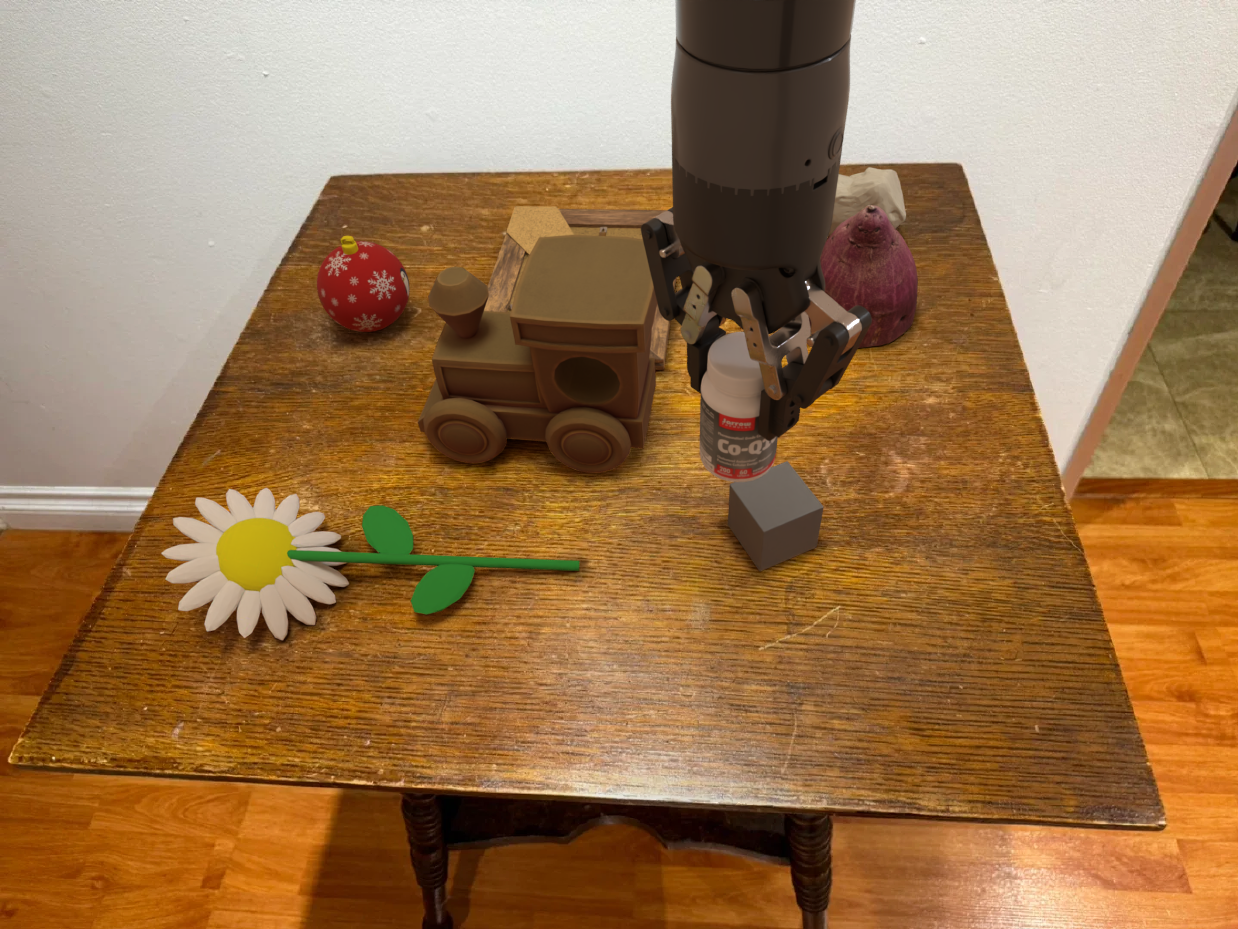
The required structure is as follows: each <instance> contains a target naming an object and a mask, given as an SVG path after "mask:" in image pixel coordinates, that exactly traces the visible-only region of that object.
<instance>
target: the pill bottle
mask: <svg viewBox="0 0 1238 929" xmlns="http://www.w3.org/2000/svg"><path fill="white" fill-rule="evenodd" d="M763 389H765V388H764V384H763V380H762V375H761V371H760V366H759V363H758V362H757V361H753V360H751V358H750V356H749V352H748V348H747V343H746V339H745V335H744V331H734V332H730V333H726V335H724V336H722V337H720V338H719V339H717V340H716V341H715V342H714V343H713V344H712V345H711V347H710V349H709V352H708V362H707V371H706V372H705V374H704V376H703V378H702V382H701V394H700V401H699V402H700V404H699V457H700V461H701V462H702V465H703V466H704V468H705V469H706V471H708V473H710V474H711V475H712V476H714V477H716V478H717V479H720V480H722V481H726V482H731V483H734V482H747V481H752V480H755V479H758V478H760V477H761V476H763V475H764V474H766V473H767V472H768V471H769V470H770V468H771V467H773V466H774V463H775V461H776V456H777V449H778V440H779V438H778V437H777V436H776V437H775V438H774V439H772V440H771V441H767V440H766V439H765V438H763V437H762V436H760V435H759V434H758V424H759V412H760V399H761V391H762V390H763Z"/></svg>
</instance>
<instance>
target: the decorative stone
mask: <svg viewBox="0 0 1238 929" xmlns="http://www.w3.org/2000/svg"><path fill="white" fill-rule="evenodd" d="M868 205H872V206H878V207H880V208H881V209H882V210H883V211H884V212H885V213H886V215H887V217H888V219H889V221H890V223H891V224H892V226H893V227H894V228H895V229H896V230H897V228H899V226H900V225H901V224H903V223H904V222H906V219H907V212H906V206H905V200H904V194H903V190H902V186H901V181H900V178H899V176H898V173H897V171H896V170H894V169H890V168H888V169H887V168H886V169H880V168H876V167H871V166H869V167H867V168H866V169H865V170H864V171H862V172H859V173H854V174H851V175H849V176H848V175H844V174H841V173H839V175H838V182H837V190H836V197H835V204H834V211H833V219H832V225H831V229H830V232H829V235H828V237H830V235H831V234H832V233H833V232H834V230H835V229H836V228H837V227H838V226H839V225H840V224H841V223H842V222H844V221H846V220H847V219H848V218H850V217H852V216H854V215H855V214H857V213H858V212H859V211H861V210H862V209H864V208H865V207H867V206H868Z"/></svg>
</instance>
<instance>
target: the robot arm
mask: <svg viewBox="0 0 1238 929" xmlns="http://www.w3.org/2000/svg"><path fill="white" fill-rule="evenodd" d="M674 1H675V3H674V4H675V48H674V50H675V51H674V59H673V66H672V76H671V87H670V117H671V119H670V122H671V124H670V125H671V127H670V128H671V129H670V130H671V131H670V132H671V180H672V181H671V183H672V186H671V187H672V207H670V208H668V209H666V210H667V211H665V212H663V213H661V214H660V215H658V216H656V217H655V218H653V219H651V220H649V221H648V222H646V223H644V224H643V225H642V226H641V234H642V238H643V243H644V247H645V251H646V256H647V260H648V264H649V269H650V273H651V277H652V282H653V286H654V291H655V295H656V299H657V304H658V308H659V311H660V314H661V315H662V317H663V318H664V319H666V320H667V321H670V322H672V321H674V320H675V321H676V322H677V323H678V324H679V325H680V334H681V337H682V338H683V340H684V341H685V342H686V370H687V373H688V376H689V377H690V387H691V388H692V389H693V390H694V391H696V392H697V393H698V394H700V395H701V382H702V378H703V376H704V374H705V372H706V371H707V362H708V352H709V349H710V347H711V345H712V344H713V343H714V342H715V341H716V340H717V339H719V338H720V337H722V336H724V335H727V331H726V330H725V329H723V328H722V327H721V326H723V325H724V324H725V323H726V320H729V321H733V322H734V323H735V324H736V325H737V326H738V327H739V328H740V329H742V330H743V332H744V335H745V339H746V343H747V348H748V352H749V356H750V358H751V360H753V361H757V362H758V363H759V366H760V371H761V375H762V380H763V384H764V388H765V389H763V390H762V391H761V399H760V412H759V424H758V434H759V435H760V436H762V437H763V438H765V439H766V440H767V441H771V440H772V439H774V438H775V437H776V436H777V437H778V439H779V438H780V437H782V436H783V435H784V434H786V433H787V432H788V431H789V430H791V429H792V428H794V427H795V426H796V425H797V424H798V422H799V421H800V413H801V409H803V410H806V409H807V408H809V407H810V406H812V405H813V404H814V403H815V401H816V400H818V399H819V398H820V397H822V396H823V395H824V394H826V393H827V392H828V391H830V390H832V389H833V388H835V387H836V386H837V385H839V383H840V381H841V380H842V378H843V377H844V374H845V372H846V371H847V369H848V368H849V366H850V363H851V362H852V360H853V358H854V356H855V355H856V352H857V351H858V349H859V348H858V347H859V345H860V344H861V342H862V340H863V338H864V336H865V335H866V333H867V331H868V329H869V327H870V326H871V323H872V318H871V315H870V313H869V312H868V310H867V309H865V308H864V307H862V306H854V307H853V308H851V309H850V310H849V311H846V310H845V309H844V308H843V307H841V306H840V305H839V304H838V303H837V302H836V301H834V300H833V299H832V298H831V297H830V296H829V295H827V294H826V293H825V279H824V275H823V272H822V269H821V262H820V257H821V254H822V251H823V248H824V245H825V243H826V241H827V240H828V238H829V236H828V235H829V232H830V229H831V225H832V219H833V211H834V204H835V197H836V190H837V182H838V175H839V174H840V169H841V168H840V167H841V166H840V165H841V161H842V160H841V159H842V154H843V152H842V151H843V145H844V144H843V143H844V137H845V129H846V122H847V115H848V108H849V101H850V94H851V93H850V92H851V91H850V90H851V44H852V43H851V42H852V33H853V25H854V17H855V11H856V10H855V9H856V3H857V0H674ZM678 277H679V281H680V286H681V289H679V290H677V291H675V290H674V287H673V282H674V280H675V278H676V279H677V278H678ZM808 316H809V317H808ZM809 318H810V320H811V327H810V322H809ZM807 345H808V346H809V347H810V348H811V349H810V351H808V346H807ZM784 358H786V363H787V364H786V365H784V366H783V364H782V363H783V359H784Z"/></svg>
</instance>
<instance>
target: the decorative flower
mask: <svg viewBox="0 0 1238 929" xmlns="http://www.w3.org/2000/svg"><path fill="white" fill-rule="evenodd" d="M225 498H226V505H227V507H228V510H229V511H228V510H227V509H226V508H225V507H223V506H222V505H221V504H219V503H218V502H216V501H215V500H212V499H209V498H206V497H195V502H194V506H195V507H196V509H197V510H198V512H199V514H200V515H201V516H202V517H203V518H204V519H205V520H206V521H207V522H208V523H206V522H203V521H202V520H199V519H196V518H194V517H187V516H186V517H185V516H178V517H174V518H173V517H172V523H173V526H174V527H175V528H176V529H177V530H178V531H179V532H181V533H182V534H183V535H184V536H186V537H188V538H189V539H191V540H192V541H194V542H195V543H184V544H176V545H174V546H171V547H169V548H166V549H164V550H163V551H162V552H161V553H160V554H161V555H162V556H163V557H165V558H166V559H168V560H174V561H179V562H184V563H181V564H180V565H178V566H177V567H175V568H174V569H172V570H170V571H169V572H168V573H167V575H166V577H165V580H166V581H168V582H169V583H171V584H190V583H191V584H192V583H195V582H197V583H196V584H195V585H194V586H192V587H191V588H190V589H189V590H188V591H187V592H186V593H185V594H184V595H183V597H182V598H181V599H180V600H179V602H178V611H183V612H189V611H193V610H196V609H199V608H202V607H203V606H205V605H207V604H208V603H210V602H211V604H210V606H209V608H208V609H207V613H206V616H205V619H204V628H205V630H206V632H211V631H215V630H217V629H219V628H220V627H221V626H222V625H223V624H224V623H226V622H227V620H228V619H229V618H230V617H231V615H232V614H233V613H234V611H236V624H237V630H238V633H239V634H240V635H241V636H242V637H243V638H244V639H246V638H247V637H248V636H249V635H251V634H253V631H254V630H255V628H256V627H257V625H258V622H259V618H260V613H262V616H263V618H264V621H265V623H266V626H267V627H268V630H269V631H270V632H271V634H272V635H273V636H274V638H275V639H278V640H280V641H284V639H285V638H286V637H287V636H288V629H289V620H288V612H289V614H291V615H292V616H293V617H294V618H295V619H296V620H297V621H299V622H301V623H303V624H304V625H307V626H315V625H316V621H317V615H316V612H315V610H314V607H313V605H312V603H311V602H310V600H309V599H308V598H310V599H311V600H314V601H315V602H317V603H321V604H325V605H332V604H335V603H337V600H336V594H334V592H333V590H331V589H330V587H329V586H332V587H339V588H340V587H341V588H345V587H347V586H349V585H350V582H349V581H348V579H347V578H346V577H345V576H344V575H343V574H342V573H341V572H340V571H339V570H337V569H336V568H335V569H334V568H333V567H337V566H341V565H344V564H349V563H350V564H375V565H401V566H402V565H403V566H404V565H405V566H429V567H431V566H433V568H432V569H430V570H429V571H427V572H426V574H424V576H422V578H421V580H420V581H419V582H418V583H417V584H416V585H415V588H414V591H413V593H412V596H411V599H410V603H411V607H412V609H413V612H414V613H417V614H423V615H431V614H435V613H440V612H443V611H444V610H445V609H448V607H450V606H452V605H453V604H454V603H456V602H457V601H459V600H460V599H461V598H462V597H463V596H464V594H465V593H466V592H467V590H468V589H469V588H470V587H471V583H472V581H473V578H474V575H475V573H476V569H475V568H480V569H481V568H482V569H483V568H485V569H487V568H488V569H509V570H510V569H511V570H512V569H513V570H538V571H539V570H541V571H564V572H566V571H568V572H580V560H572V559H544V558H543V559H542V558H521V557H520V558H517V557H493V556H491V557H490V556H488V557H487V556H465V555H437V554H412V553H411V552H412V551H413V550H414V534H413V531H412V528H411V527H410V523H409V522H408V520H407V519H406V518H404V517H403V516H402V515H401V514H400V513H399V512H398V511H396V510H395V509H394V508H392V507H389V506H386V505H383V504H382V505H370V506H369V507H368V508H367V509H366V511H365V512H364V513H363V514H362V522H361V527H362V531H363V534H364V537H365V539H366V542H367V543H368V544H369V545H370V546H371V548H373V549H374V550H375V551H376V552H358V551H357V552H356V551H355V552H354V551H341V550H339V549H338V548H334V547H328V546H330V545H333V544H336V543H337V542H338V541H340V540H341V539H342V535H341V534H339V533H338V532H335V531H326V530H323V531H322V530H319V531H316V529H318V528H319V527H320V526H321V525H322V524H323V523H324V520H325V518H326V515H325V513H324V512H320V511H313V512H308V513H305V514H303V515H301V516H299V517H297V515H298V513H299V510H300V507H301V506H300V498H299V496H298V494H297V493H294V494H290V495H289V494H288V496H287V497H285V498H283V499H282V500H281V502H280V504H279V505H278V507H276V499H275V496H274V495H273V492H272V491H271V490H270V488H268V487H264V488H263V489H261V490H259V491H258V493H257V495H256V497H255V499H254V503H253V506H252V505H251V503H250V502H249V500H248V499H247V498H246V496H245V495H243V494H242V493H240V492H239V491H238V490H236V489H234V488H233V489H232V488H228V490H227V491H226V493H225ZM328 585H329V586H328Z"/></svg>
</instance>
